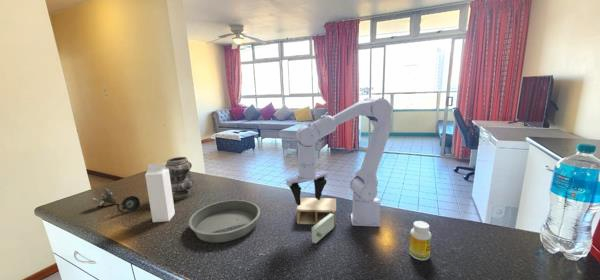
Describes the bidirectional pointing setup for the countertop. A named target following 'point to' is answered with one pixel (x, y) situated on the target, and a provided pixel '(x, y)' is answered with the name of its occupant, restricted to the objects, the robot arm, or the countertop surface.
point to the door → (323, 227)
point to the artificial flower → (128, 203)
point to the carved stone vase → (180, 177)
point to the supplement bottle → (420, 241)
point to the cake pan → (224, 220)
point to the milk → (159, 192)
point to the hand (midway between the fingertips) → (308, 201)
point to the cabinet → (315, 210)
